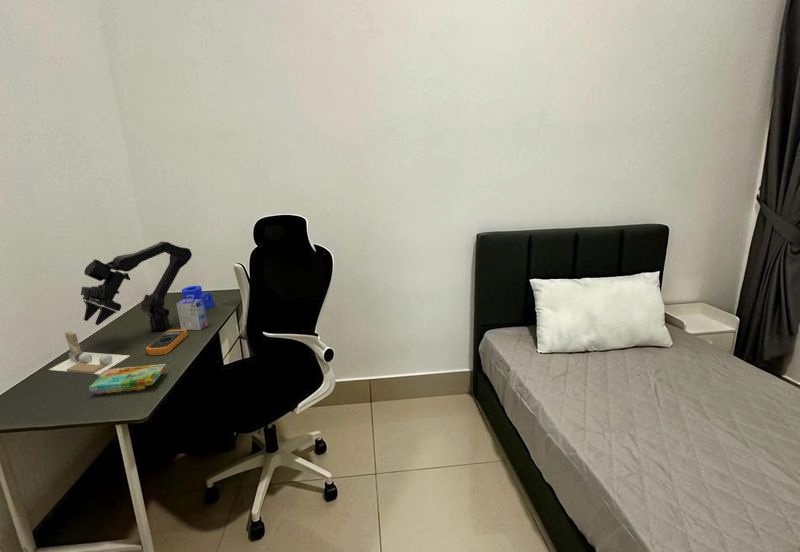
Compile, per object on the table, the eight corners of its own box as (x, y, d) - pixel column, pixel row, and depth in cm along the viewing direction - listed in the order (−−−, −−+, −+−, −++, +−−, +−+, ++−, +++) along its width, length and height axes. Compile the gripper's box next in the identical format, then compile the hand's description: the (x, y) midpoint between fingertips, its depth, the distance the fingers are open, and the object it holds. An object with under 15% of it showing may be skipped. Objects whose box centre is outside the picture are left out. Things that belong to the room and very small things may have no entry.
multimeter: (145, 356, 178) (143, 348, 177) (169, 336, 195) (167, 329, 194) (167, 356, 177) (165, 347, 176) (189, 335, 194) (187, 328, 193)
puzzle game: (106, 367, 161) (165, 361, 162) (109, 379, 162) (168, 373, 164) (87, 385, 150) (152, 378, 151) (91, 397, 151) (155, 391, 153)
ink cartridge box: (208, 325, 204) (202, 294, 199) (201, 330, 198) (194, 298, 194) (188, 324, 206) (182, 293, 201) (180, 329, 201) (173, 298, 196)
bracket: (181, 304, 233) (178, 289, 231) (198, 298, 240) (195, 284, 237) (201, 311, 221) (198, 296, 219) (218, 305, 228) (215, 290, 225)
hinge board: (82, 354, 183) (79, 344, 181) (130, 358, 177) (128, 347, 176) (49, 372, 170) (45, 361, 168) (100, 376, 164) (96, 365, 163)
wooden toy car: (79, 356, 179) (72, 330, 175) (86, 359, 176) (78, 332, 173) (70, 360, 176) (62, 333, 173) (76, 363, 173) (68, 336, 170)
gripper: (79, 274, 182) (58, 311, 178) (102, 280, 172) (80, 319, 167) (107, 285, 191) (87, 321, 186) (130, 292, 181) (110, 329, 176)
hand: (90, 322), depth 179 cm, fingers open, 9 cm apart
